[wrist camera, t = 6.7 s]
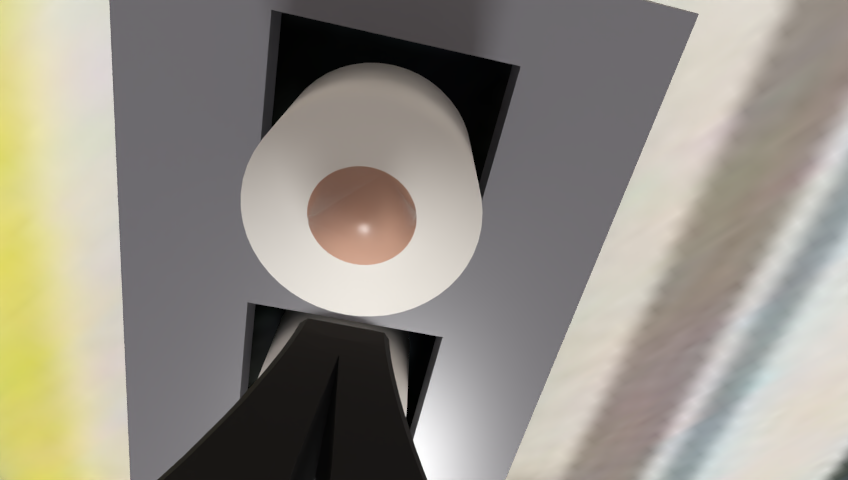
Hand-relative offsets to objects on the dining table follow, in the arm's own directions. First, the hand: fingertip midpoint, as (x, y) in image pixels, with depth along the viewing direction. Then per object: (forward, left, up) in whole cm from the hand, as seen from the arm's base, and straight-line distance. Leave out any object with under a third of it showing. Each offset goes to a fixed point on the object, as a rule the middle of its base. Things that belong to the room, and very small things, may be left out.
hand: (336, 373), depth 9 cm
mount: (0, -6, -10) cm, 12 cm away
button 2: (0, +2, -5) cm, 5 cm away
